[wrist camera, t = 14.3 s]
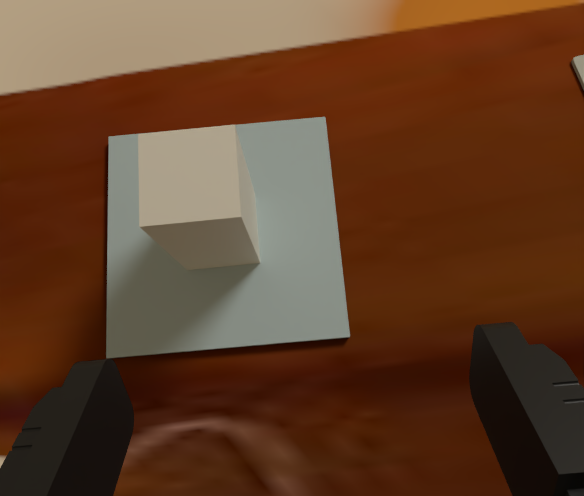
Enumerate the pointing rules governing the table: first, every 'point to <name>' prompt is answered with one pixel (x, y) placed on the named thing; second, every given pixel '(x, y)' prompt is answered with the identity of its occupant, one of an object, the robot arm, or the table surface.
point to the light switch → (579, 68)
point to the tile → (241, 278)
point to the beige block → (198, 197)
